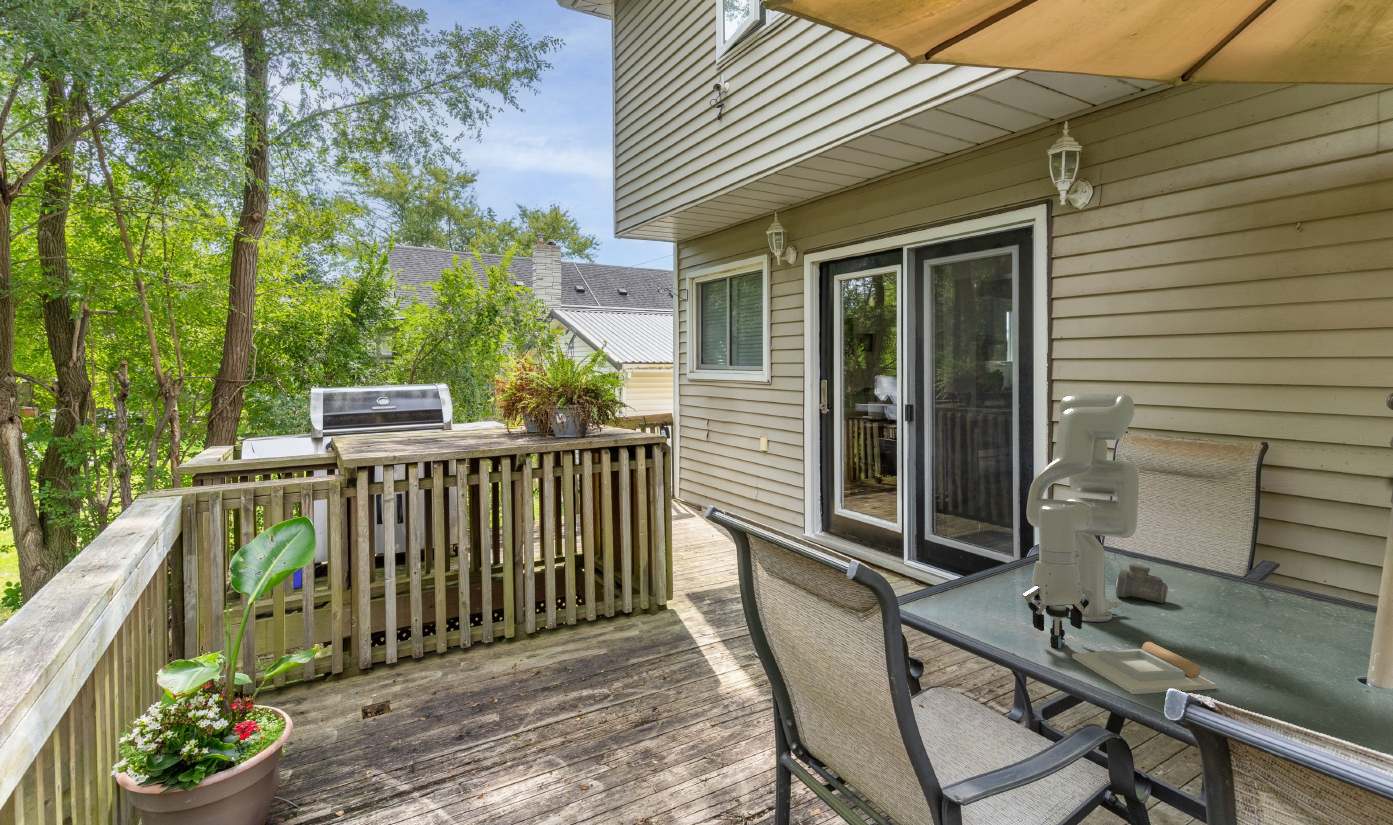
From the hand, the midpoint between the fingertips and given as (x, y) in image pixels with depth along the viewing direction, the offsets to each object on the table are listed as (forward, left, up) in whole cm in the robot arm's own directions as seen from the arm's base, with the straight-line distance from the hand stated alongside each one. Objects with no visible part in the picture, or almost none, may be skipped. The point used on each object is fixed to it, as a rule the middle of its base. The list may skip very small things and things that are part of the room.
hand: (1057, 628), depth 154 cm
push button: (0, 0, -4) cm, 4 cm away
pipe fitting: (-44, -27, -4) cm, 52 cm away
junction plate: (-7, +17, -4) cm, 19 cm away
